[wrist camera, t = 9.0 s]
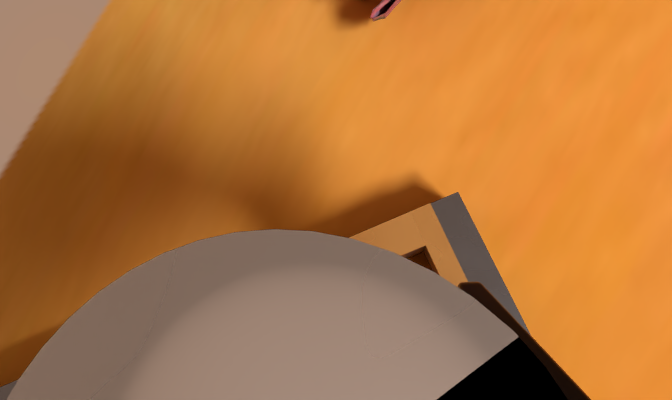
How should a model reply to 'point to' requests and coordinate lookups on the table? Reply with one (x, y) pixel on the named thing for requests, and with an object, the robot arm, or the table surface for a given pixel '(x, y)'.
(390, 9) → the flower
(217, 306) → the peg
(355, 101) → the table surface
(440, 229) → the rail
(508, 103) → the table surface
